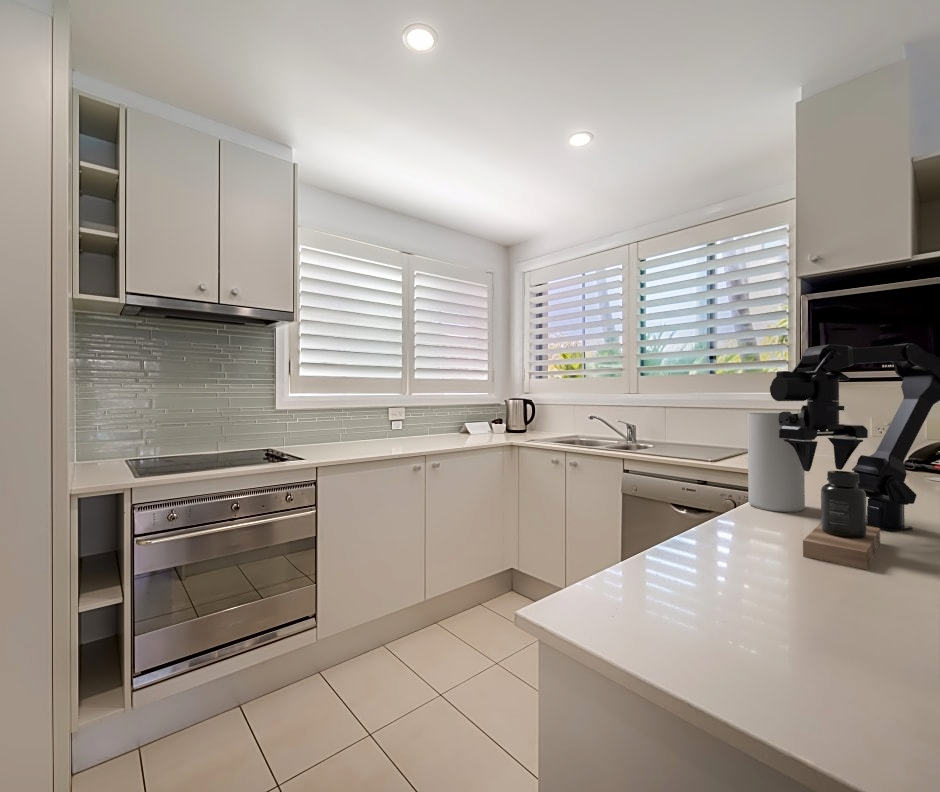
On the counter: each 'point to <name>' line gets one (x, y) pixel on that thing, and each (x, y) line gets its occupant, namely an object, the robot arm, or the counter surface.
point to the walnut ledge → (842, 547)
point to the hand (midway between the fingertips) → (823, 470)
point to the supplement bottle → (843, 505)
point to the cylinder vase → (773, 467)
